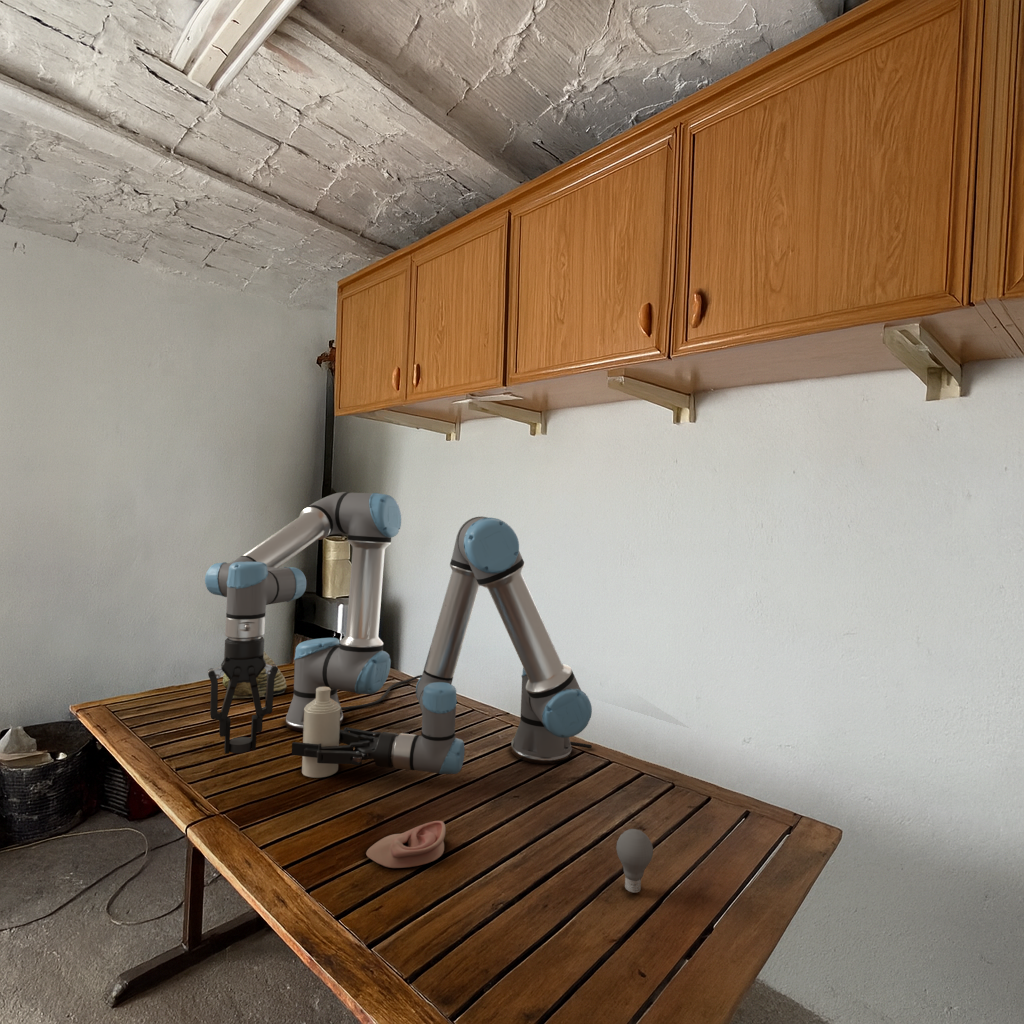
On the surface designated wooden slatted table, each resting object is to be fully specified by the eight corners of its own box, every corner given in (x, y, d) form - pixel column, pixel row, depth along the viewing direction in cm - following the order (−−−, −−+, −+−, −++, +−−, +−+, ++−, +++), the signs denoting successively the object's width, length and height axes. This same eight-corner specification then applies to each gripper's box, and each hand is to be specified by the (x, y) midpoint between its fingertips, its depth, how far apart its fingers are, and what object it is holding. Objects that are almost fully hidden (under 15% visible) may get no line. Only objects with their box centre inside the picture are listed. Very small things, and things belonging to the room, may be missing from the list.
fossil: (218, 695, 195) (220, 647, 195) (278, 685, 208) (279, 640, 207) (228, 703, 189) (230, 653, 188) (289, 692, 201) (290, 645, 201)
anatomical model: (359, 840, 110) (385, 809, 121) (358, 862, 110) (384, 829, 121) (431, 852, 107) (451, 819, 119) (431, 875, 107) (451, 840, 119)
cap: (237, 744, 133) (237, 735, 133) (255, 746, 133) (256, 738, 133) (223, 751, 129) (224, 743, 129) (243, 754, 128) (243, 745, 128)
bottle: (345, 768, 148) (348, 687, 148) (320, 780, 141) (323, 696, 141) (319, 760, 152) (322, 681, 152) (293, 772, 145) (297, 689, 145)
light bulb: (610, 879, 108) (613, 822, 108) (644, 879, 109) (647, 822, 109) (619, 902, 102) (622, 840, 102) (655, 901, 103) (658, 840, 103)
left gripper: (198, 643, 123) (193, 762, 124) (291, 638, 131) (286, 750, 132) (197, 635, 130) (192, 748, 130) (286, 631, 138) (281, 738, 138)
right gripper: (379, 787, 134) (278, 776, 137) (409, 749, 154) (320, 740, 158) (380, 752, 134) (279, 741, 137) (410, 718, 154) (322, 710, 157)
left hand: (240, 749), depth 131 cm, fingers closed on cap, 4 cm apart
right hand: (301, 741), depth 147 cm, fingers closed on bottle, 8 cm apart
